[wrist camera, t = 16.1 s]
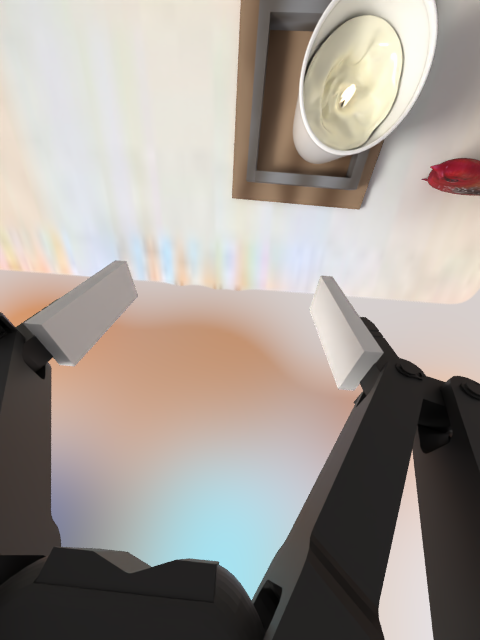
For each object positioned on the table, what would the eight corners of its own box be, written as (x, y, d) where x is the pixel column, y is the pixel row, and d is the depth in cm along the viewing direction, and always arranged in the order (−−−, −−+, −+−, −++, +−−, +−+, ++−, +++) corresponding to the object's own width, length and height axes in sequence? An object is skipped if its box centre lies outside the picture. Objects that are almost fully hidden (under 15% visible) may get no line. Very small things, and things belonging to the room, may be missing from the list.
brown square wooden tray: (232, 198, 32) (229, 197, 29) (243, -18, 21) (239, -53, 18) (356, 209, 31) (366, 210, 28) (433, -13, 20) (463, -50, 17)
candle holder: (382, 111, 24) (467, 46, 14) (320, 187, 29) (350, 180, 19) (329, 41, 22) (384, -97, 12) (271, 136, 27) (275, 97, 16)
